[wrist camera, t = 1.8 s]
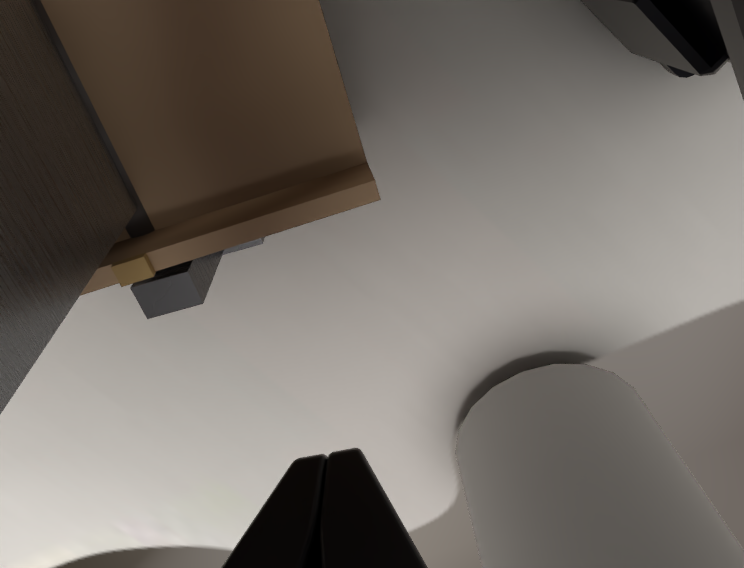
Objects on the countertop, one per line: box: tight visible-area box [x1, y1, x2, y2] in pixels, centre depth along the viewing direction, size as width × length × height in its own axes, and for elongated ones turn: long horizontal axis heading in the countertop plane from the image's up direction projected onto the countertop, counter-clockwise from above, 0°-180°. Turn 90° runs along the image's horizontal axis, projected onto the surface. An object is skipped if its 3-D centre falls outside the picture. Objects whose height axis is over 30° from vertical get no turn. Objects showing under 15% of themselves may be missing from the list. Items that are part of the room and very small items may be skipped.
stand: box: [131, 237, 264, 319], centre depth 16 cm, size 4×11×4 cm, turn 16°
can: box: [455, 364, 744, 568], centre depth 19 cm, size 8×8×12 cm
